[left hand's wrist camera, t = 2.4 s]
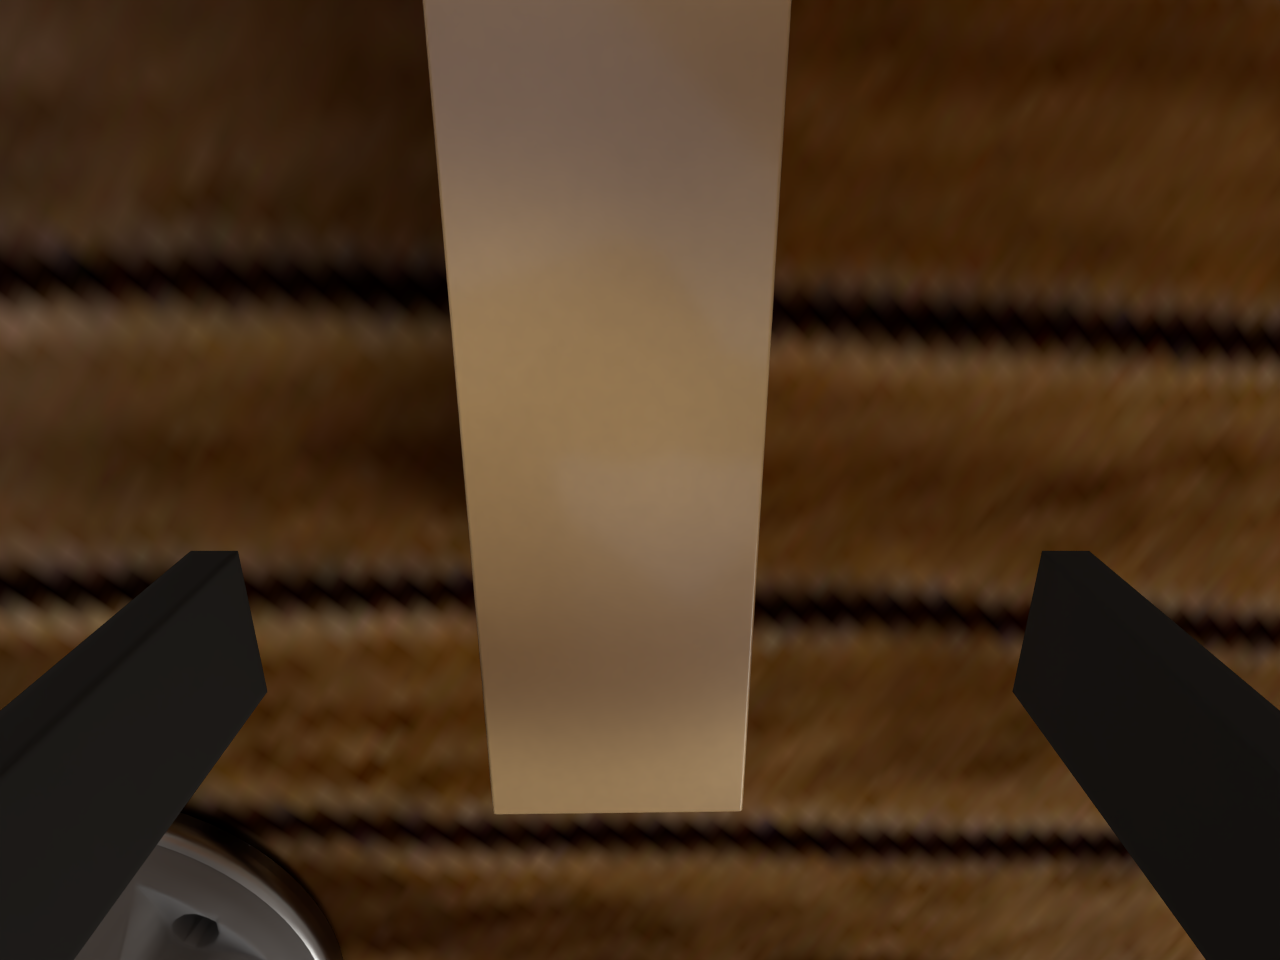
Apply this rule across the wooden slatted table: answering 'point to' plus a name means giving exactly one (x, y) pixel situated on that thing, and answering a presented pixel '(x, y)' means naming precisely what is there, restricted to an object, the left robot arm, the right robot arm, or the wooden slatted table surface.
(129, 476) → the wooden slatted table surface
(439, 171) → the bar
